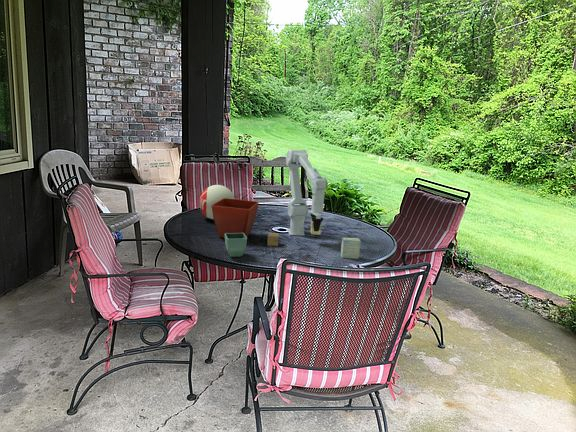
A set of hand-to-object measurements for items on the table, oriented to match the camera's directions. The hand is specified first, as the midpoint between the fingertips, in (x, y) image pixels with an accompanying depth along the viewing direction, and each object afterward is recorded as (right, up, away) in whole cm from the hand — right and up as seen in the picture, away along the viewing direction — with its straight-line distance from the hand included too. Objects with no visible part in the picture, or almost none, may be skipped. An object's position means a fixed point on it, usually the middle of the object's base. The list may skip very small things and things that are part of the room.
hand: (315, 229), depth 232 cm
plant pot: (-41, -3, +6) cm, 41 cm away
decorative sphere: (-54, +4, +35) cm, 65 cm away
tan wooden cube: (-21, -7, -5) cm, 23 cm away
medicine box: (+15, -12, -17) cm, 26 cm away
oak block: (0, -2, 0) cm, 2 cm away
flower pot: (-37, -11, -24) cm, 45 cm away
